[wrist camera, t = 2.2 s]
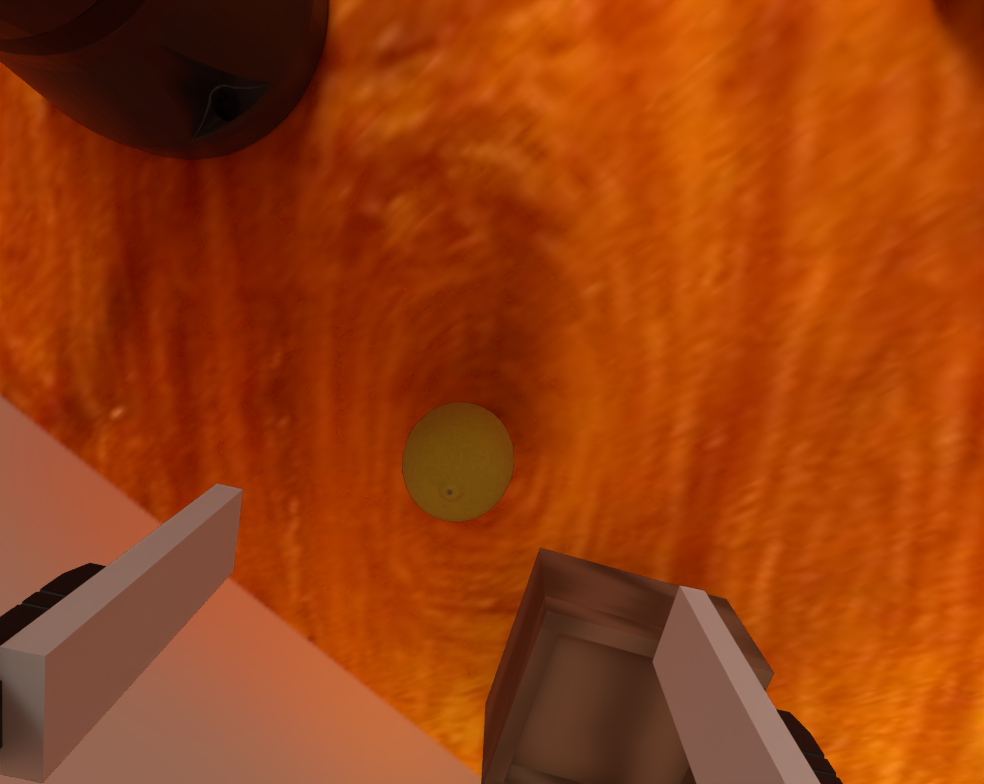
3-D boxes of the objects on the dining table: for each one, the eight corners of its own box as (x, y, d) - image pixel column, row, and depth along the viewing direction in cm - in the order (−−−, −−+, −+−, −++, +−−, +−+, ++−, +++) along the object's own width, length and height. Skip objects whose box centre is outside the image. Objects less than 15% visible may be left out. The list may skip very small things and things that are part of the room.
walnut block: (486, 700, 35) (480, 791, 29) (539, 545, 32) (546, 610, 26) (656, 745, 35) (686, 845, 29) (724, 596, 32) (774, 673, 26)
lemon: (511, 384, 29) (511, 428, 21) (515, 476, 30) (517, 549, 23) (413, 388, 29) (379, 433, 22) (421, 480, 31) (392, 553, 23)
